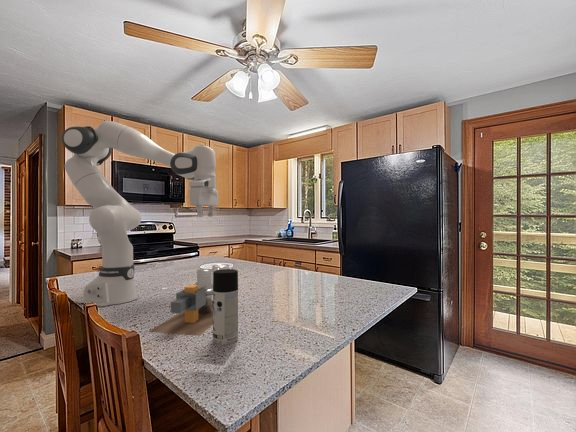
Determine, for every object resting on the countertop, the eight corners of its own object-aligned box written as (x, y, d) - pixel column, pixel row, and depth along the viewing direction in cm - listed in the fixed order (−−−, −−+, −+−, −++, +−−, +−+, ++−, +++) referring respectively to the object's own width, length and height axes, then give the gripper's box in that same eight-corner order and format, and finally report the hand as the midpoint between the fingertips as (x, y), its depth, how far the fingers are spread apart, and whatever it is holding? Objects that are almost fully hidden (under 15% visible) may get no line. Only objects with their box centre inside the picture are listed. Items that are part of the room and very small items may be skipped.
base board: (148, 336, 86) (148, 331, 86) (193, 308, 111) (193, 304, 111) (200, 340, 83) (200, 335, 83) (233, 310, 108) (233, 306, 108)
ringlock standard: (158, 330, 86) (158, 281, 86) (197, 305, 109) (197, 266, 109) (193, 333, 84) (193, 282, 84) (225, 307, 107) (225, 267, 107)
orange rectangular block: (184, 322, 93) (184, 287, 93) (189, 318, 96) (189, 284, 96) (193, 322, 92) (193, 287, 92) (198, 319, 95) (198, 285, 95)
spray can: (215, 339, 83) (214, 268, 83) (239, 338, 84) (239, 268, 84) (211, 350, 77) (210, 273, 77) (237, 349, 77) (236, 273, 77)
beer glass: (225, 307, 113) (225, 267, 112) (208, 305, 114) (208, 266, 114) (232, 301, 119) (232, 264, 119) (216, 300, 121) (216, 263, 121)
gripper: (209, 186, 137) (209, 216, 137) (186, 181, 117) (186, 217, 117) (222, 186, 136) (222, 216, 136) (201, 181, 115) (201, 217, 116)
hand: (205, 216), depth 126 cm, fingers open, 8 cm apart
